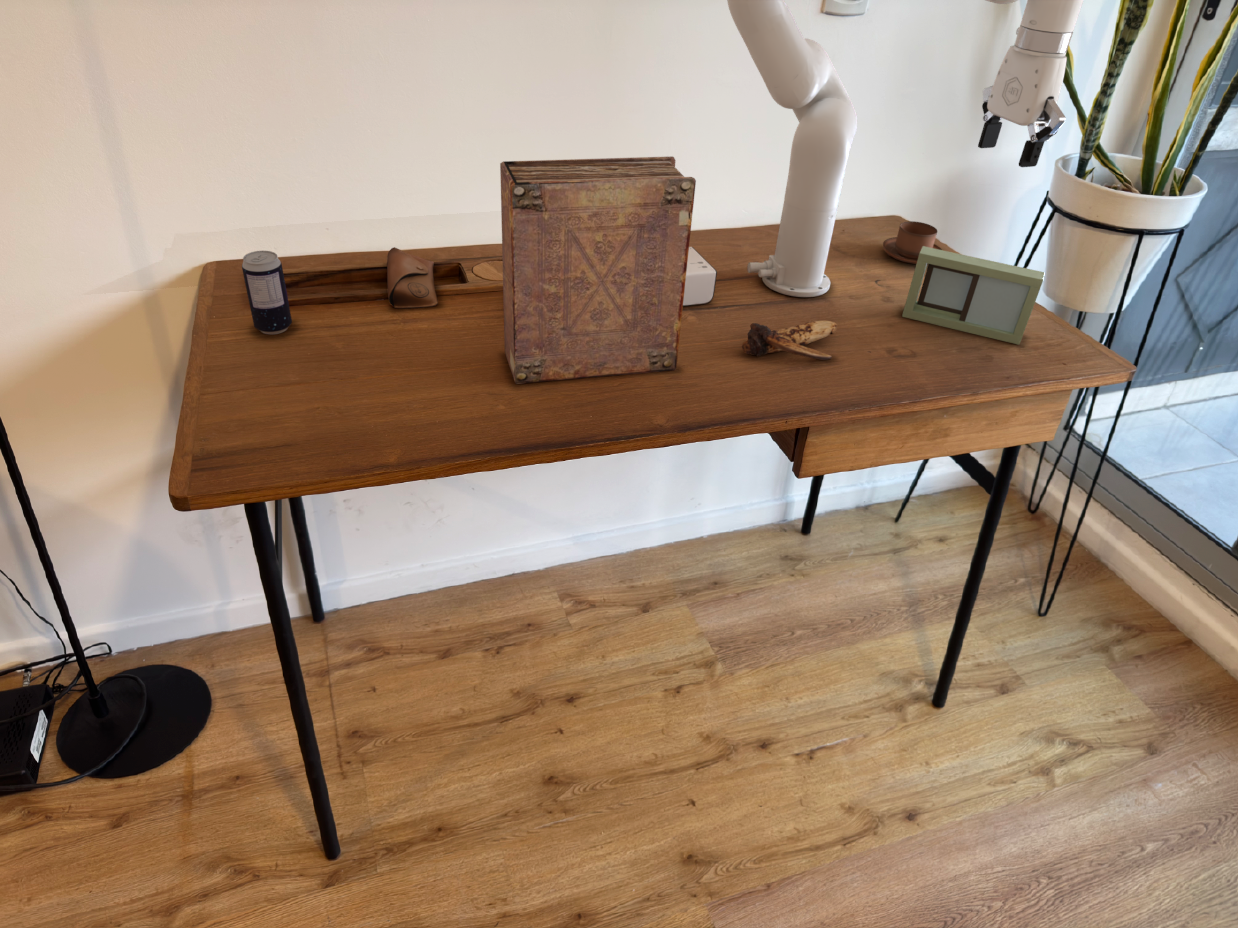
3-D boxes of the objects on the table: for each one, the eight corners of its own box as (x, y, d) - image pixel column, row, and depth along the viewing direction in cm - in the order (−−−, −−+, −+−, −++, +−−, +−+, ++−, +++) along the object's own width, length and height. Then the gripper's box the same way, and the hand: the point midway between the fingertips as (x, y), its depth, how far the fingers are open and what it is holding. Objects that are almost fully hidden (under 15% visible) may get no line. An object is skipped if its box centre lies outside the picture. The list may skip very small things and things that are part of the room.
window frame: (901, 316, 157) (919, 253, 150) (905, 308, 160) (922, 246, 152) (1019, 345, 151) (1043, 280, 144) (1020, 336, 153) (1044, 272, 146)
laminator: (526, 323, 146) (526, 289, 142) (509, 292, 155) (508, 259, 152) (713, 303, 156) (717, 271, 153) (686, 275, 166) (689, 243, 162)
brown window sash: (916, 305, 157) (929, 261, 152) (923, 290, 162) (935, 247, 157) (968, 317, 154) (983, 273, 149) (973, 301, 160) (987, 258, 155)
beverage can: (300, 325, 141) (288, 254, 134) (275, 340, 137) (261, 267, 130) (272, 317, 143) (259, 246, 136) (246, 331, 139) (231, 259, 131)
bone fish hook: (763, 377, 138) (855, 355, 144) (768, 351, 135) (862, 330, 141) (732, 347, 144) (821, 328, 151) (736, 322, 141) (827, 303, 148)
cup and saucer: (878, 242, 185) (885, 214, 181) (936, 249, 184) (944, 220, 180) (883, 265, 175) (891, 236, 171) (945, 272, 174) (954, 243, 170)
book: (658, 342, 144) (676, 156, 126) (676, 370, 137) (698, 178, 119) (503, 354, 137) (500, 161, 120) (514, 385, 130) (511, 184, 113)
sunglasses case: (441, 304, 149) (418, 273, 145) (406, 325, 150) (382, 295, 146) (434, 260, 163) (413, 231, 159) (402, 280, 164) (380, 251, 160)
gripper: (984, 30, 138) (953, 142, 148) (1064, 55, 125) (1024, 175, 135) (1022, 29, 140) (989, 139, 150) (1105, 54, 127) (1062, 172, 137)
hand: (1006, 156), depth 143 cm, fingers open, 9 cm apart
